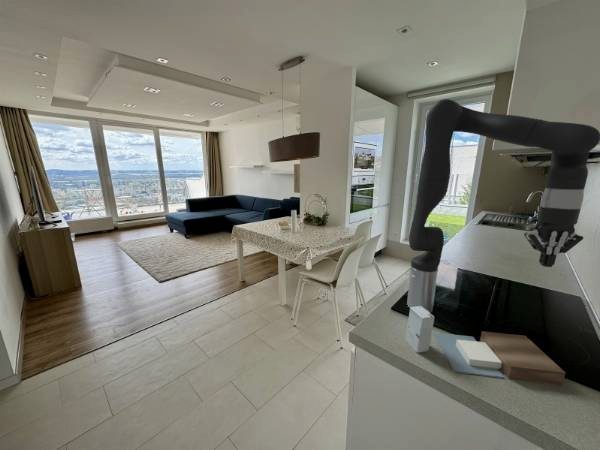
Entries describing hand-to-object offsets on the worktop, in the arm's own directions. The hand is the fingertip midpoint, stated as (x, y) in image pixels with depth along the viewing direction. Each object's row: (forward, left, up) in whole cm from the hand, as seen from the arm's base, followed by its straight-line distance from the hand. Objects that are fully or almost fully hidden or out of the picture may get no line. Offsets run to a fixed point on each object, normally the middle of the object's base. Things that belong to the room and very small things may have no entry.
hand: (545, 265), depth 68 cm
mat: (+6, -20, -27) cm, 34 cm away
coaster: (+7, -17, -27) cm, 33 cm away
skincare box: (+5, -33, -27) cm, 43 cm away
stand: (+7, -7, -27) cm, 29 cm away
